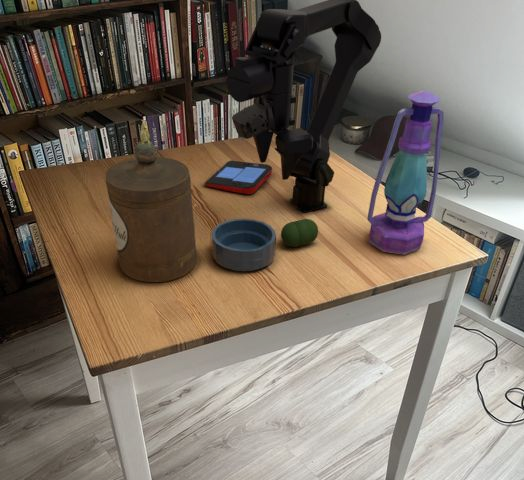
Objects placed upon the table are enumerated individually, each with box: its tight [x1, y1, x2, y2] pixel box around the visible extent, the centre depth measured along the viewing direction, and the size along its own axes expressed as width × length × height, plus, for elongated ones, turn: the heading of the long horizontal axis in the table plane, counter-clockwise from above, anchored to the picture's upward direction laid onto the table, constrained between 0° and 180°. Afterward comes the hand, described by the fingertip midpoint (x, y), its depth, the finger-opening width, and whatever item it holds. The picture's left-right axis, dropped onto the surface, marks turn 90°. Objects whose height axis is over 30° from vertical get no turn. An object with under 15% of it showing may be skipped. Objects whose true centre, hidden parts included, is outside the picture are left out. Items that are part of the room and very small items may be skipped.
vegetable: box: [134, 119, 158, 158], centre depth 117 cm, size 4×4×20 cm
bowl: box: [210, 218, 277, 272], centre depth 110 cm, size 12×12×5 cm
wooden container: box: [105, 149, 198, 283], centre depth 102 cm, size 15×15×22 cm
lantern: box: [366, 90, 445, 255], centre depth 108 cm, size 13×12×30 cm
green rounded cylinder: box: [280, 218, 319, 248], centre depth 114 cm, size 8×5×5 cm, turn 116°
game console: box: [204, 160, 273, 195], centre depth 137 cm, size 14×13×2 cm
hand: (273, 170), depth 114 cm, fingers open, 9 cm apart
